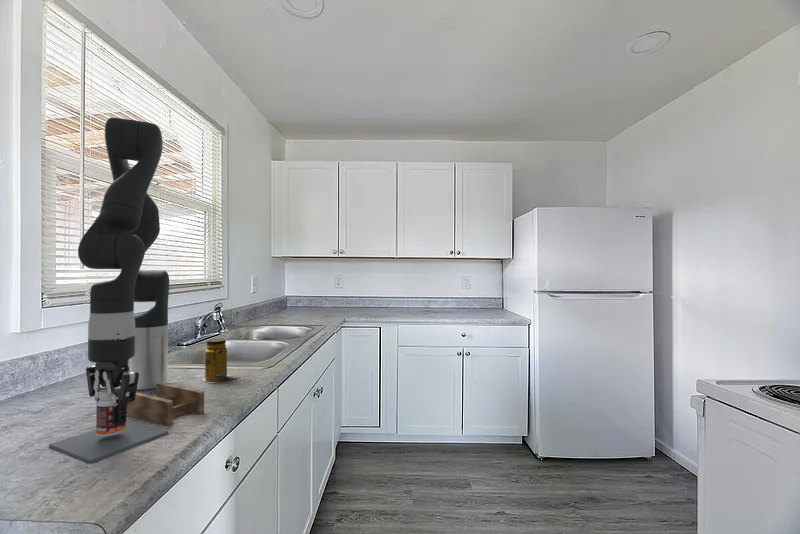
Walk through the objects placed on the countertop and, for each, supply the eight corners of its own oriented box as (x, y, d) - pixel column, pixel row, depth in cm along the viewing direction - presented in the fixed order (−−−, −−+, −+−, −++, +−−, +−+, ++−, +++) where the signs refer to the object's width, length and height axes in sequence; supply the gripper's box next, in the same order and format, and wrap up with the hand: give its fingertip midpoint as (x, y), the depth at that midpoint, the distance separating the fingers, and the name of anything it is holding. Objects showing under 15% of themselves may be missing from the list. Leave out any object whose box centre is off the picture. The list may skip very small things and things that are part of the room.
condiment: (199, 379, 122) (200, 340, 122) (226, 374, 128) (227, 336, 128) (210, 384, 117) (211, 343, 117) (238, 378, 123) (238, 339, 124)
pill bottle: (110, 438, 76) (110, 394, 76) (89, 436, 77) (90, 392, 77) (131, 428, 81) (132, 386, 81) (112, 426, 82) (112, 385, 82)
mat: (49, 446, 76) (49, 444, 76) (127, 421, 88) (127, 419, 88) (90, 463, 69) (90, 460, 69) (168, 433, 82) (168, 431, 82)
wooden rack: (123, 413, 93) (123, 391, 93) (160, 402, 101) (160, 382, 101) (167, 425, 86) (167, 402, 86) (204, 412, 94) (204, 391, 94)
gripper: (70, 334, 79) (69, 421, 79) (112, 341, 72) (111, 435, 72) (111, 329, 85) (111, 409, 85) (153, 335, 79) (153, 421, 79)
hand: (111, 421), depth 79 cm, fingers closed on pill bottle, 4 cm apart
